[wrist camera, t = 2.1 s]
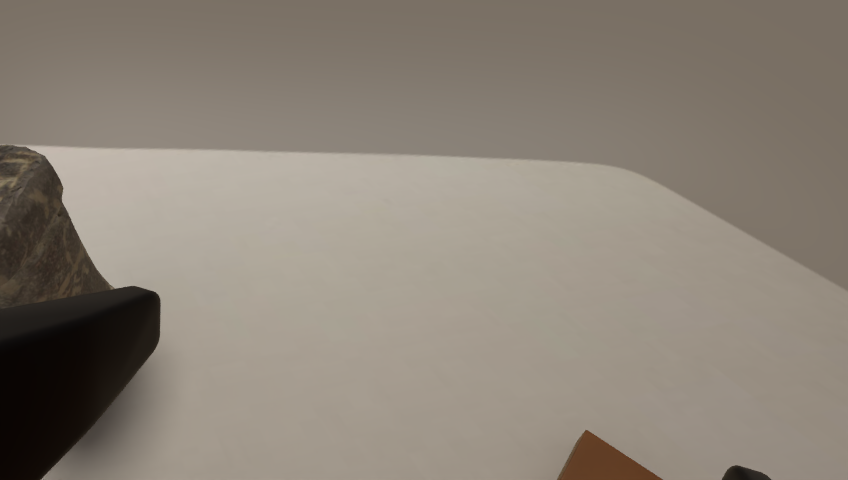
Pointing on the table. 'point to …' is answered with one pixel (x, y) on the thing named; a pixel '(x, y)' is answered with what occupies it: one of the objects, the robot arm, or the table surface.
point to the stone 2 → (38, 235)
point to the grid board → (601, 462)
